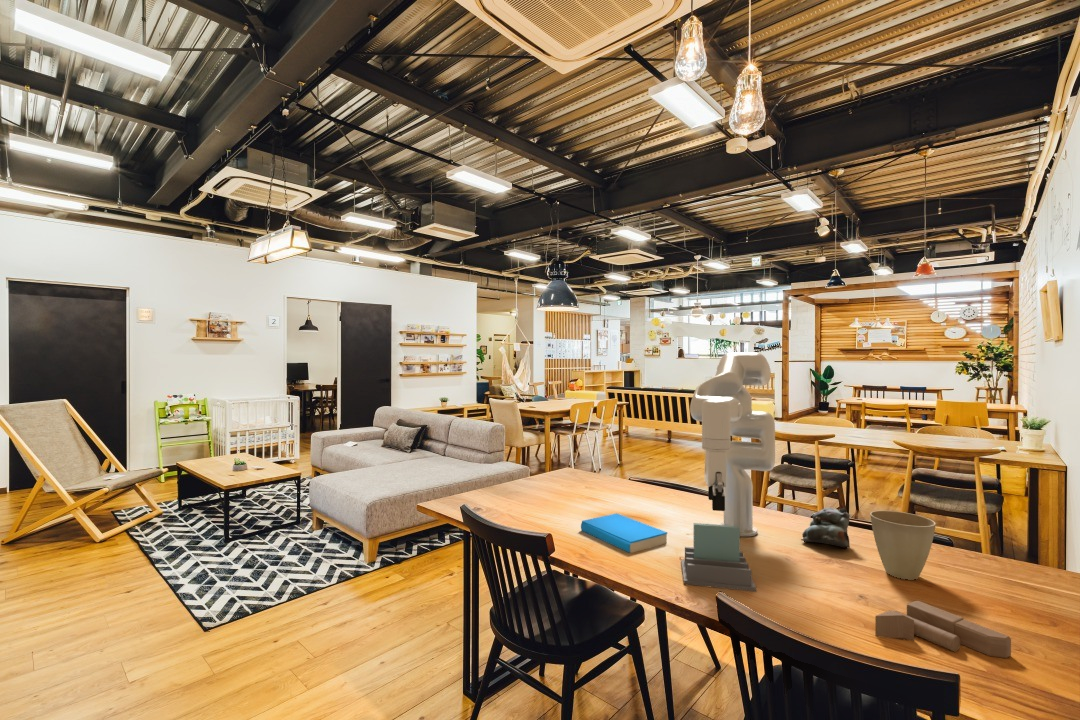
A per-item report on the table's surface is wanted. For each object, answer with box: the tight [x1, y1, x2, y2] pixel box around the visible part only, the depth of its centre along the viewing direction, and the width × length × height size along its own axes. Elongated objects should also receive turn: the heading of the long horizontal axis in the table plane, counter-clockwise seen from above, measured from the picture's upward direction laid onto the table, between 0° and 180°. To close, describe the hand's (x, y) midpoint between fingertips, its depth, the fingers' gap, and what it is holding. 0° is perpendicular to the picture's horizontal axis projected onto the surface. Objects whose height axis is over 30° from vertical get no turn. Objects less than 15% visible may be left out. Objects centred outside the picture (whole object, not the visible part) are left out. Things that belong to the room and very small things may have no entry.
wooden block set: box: [874, 600, 1012, 659], centre depth 105 cm, size 17×6×18 cm
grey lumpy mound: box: [800, 507, 851, 550], centre depth 163 cm, size 15×12×14 cm
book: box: [580, 512, 668, 554], centre depth 169 cm, size 17×4×25 cm
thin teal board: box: [692, 522, 741, 562], centre depth 138 cm, size 2×12×13 cm, turn 77°
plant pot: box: [869, 510, 937, 581], centre depth 139 cm, size 15×15×16 cm
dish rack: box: [680, 546, 757, 592], centre depth 138 cm, size 15×18×5 cm
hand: (716, 505), depth 139 cm, fingers open, 9 cm apart
